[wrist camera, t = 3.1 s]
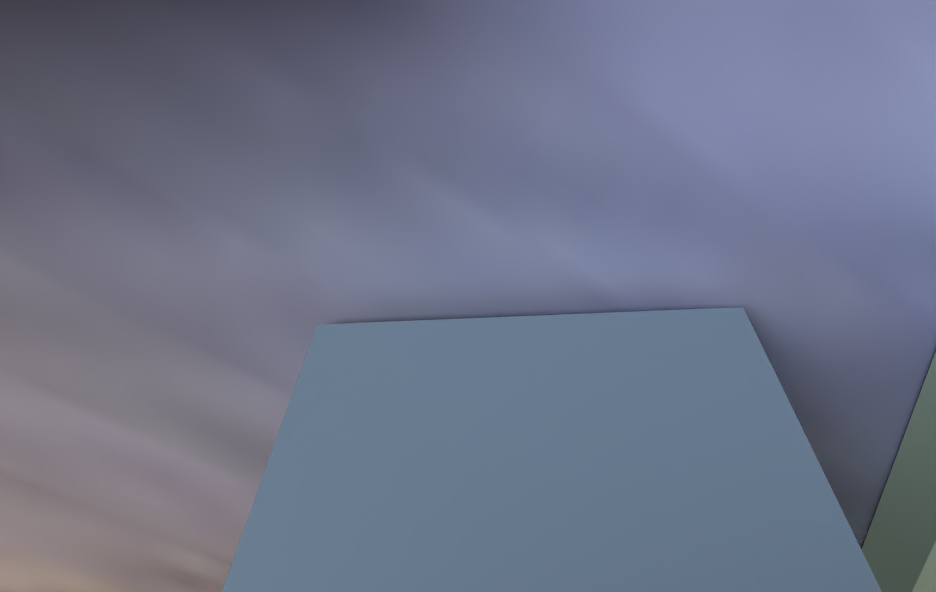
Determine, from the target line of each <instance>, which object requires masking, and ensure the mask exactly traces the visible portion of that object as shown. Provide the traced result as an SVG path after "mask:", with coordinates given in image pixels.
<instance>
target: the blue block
mask: <svg viewBox="0 0 936 592" xmlns="http://www.w3.org/2000/svg"><path fill="white" fill-rule="evenodd" d="M222 592H882V591H881V589H880V587H879V585H878V583H877V581H876V579H875V576H874V574H873V572H872V570H871V568H870V566H869V564H868V562H867V560H866V558H865V556H864V554H863V552H862V550H861V548H860V546H859V544H858V542H857V540H856V537H855V535H854V533H853V531H852V529H851V527H850V525H849V523H848V521H847V519H846V517H845V515H844V513H843V511H842V509H841V507H840V505H839V503H838V501H837V498H836V496H835V494H834V492H833V490H832V488H831V486H830V484H829V482H828V480H827V478H826V476H825V474H824V472H823V470H822V468H821V466H820V464H819V462H818V459H817V457H816V455H815V453H814V451H813V449H812V447H811V445H810V443H809V441H808V439H807V437H806V435H805V433H804V431H803V429H802V427H801V425H800V423H799V420H798V418H797V416H796V414H795V412H794V410H793V408H792V406H791V404H790V402H789V400H788V398H787V396H786V394H785V392H784V390H783V388H782V386H781V384H780V381H779V379H778V377H777V375H776V373H775V371H774V369H773V367H772V365H771V363H770V361H769V359H768V357H767V355H766V353H765V351H764V349H763V347H762V345H761V342H760V340H759V338H758V336H757V334H756V332H755V330H754V328H753V326H752V324H751V322H750V320H749V318H748V316H747V314H746V312H745V310H744V308H743V307H734V308H710V309H685V310H661V311H636V312H612V313H587V314H563V315H538V316H514V317H489V318H465V319H440V320H416V321H391V322H367V323H342V324H318V325H317V327H316V330H315V332H314V335H313V338H312V341H311V344H310V346H309V349H308V352H307V355H306V358H305V360H304V363H303V366H302V369H301V371H300V374H299V377H298V380H297V383H296V385H295V388H294V391H293V394H292V397H291V399H290V402H289V405H288V408H287V411H286V413H285V416H284V419H283V422H282V425H281V427H280V430H279V433H278V436H277V439H276V441H275V444H274V447H273V450H272V453H271V455H270V458H269V461H268V464H267V466H266V469H265V472H264V475H263V478H262V480H261V483H260V486H259V489H258V492H257V494H256V497H255V500H254V503H253V506H252V508H251V511H250V514H249V517H248V520H247V522H246V525H245V528H244V531H243V534H242V536H241V539H240V542H239V545H238V547H237V550H236V553H235V556H234V559H233V561H232V564H231V567H230V570H229V573H228V575H227V578H226V581H225V584H224V587H223V589H222Z"/></svg>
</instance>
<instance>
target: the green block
mask: <svg viewBox="0 0 936 592" xmlns="http://www.w3.org/2000/svg"><path fill="white" fill-rule="evenodd" d="M861 550H862V552H863V554H864V556H865V558H866V560H867V562H868V564H869V566H870V568H871V570H872V572H873V574H874V576H875V579H876V581H877V583H878V585H879V587H880V589H881V591H882V592H936V352H935V354H934V357H933V360H932V362H931V365H930V368H929V370H928V373H927V376H926V378H925V381H924V384H923V386H922V389H921V392H920V394H919V397H918V400H917V402H916V405H915V408H914V410H913V413H912V416H911V419H910V421H909V424H908V427H907V429H906V432H905V435H904V437H903V440H902V443H901V445H900V448H899V451H898V453H897V456H896V459H895V461H894V464H893V467H892V469H891V472H890V475H889V477H888V480H887V483H886V485H885V488H884V491H883V493H882V496H881V499H880V501H879V504H878V507H877V509H876V512H875V515H874V517H873V520H872V523H871V525H870V528H869V531H868V533H867V536H866V539H865V541H864V544H863V547H862V549H861Z"/></svg>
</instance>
